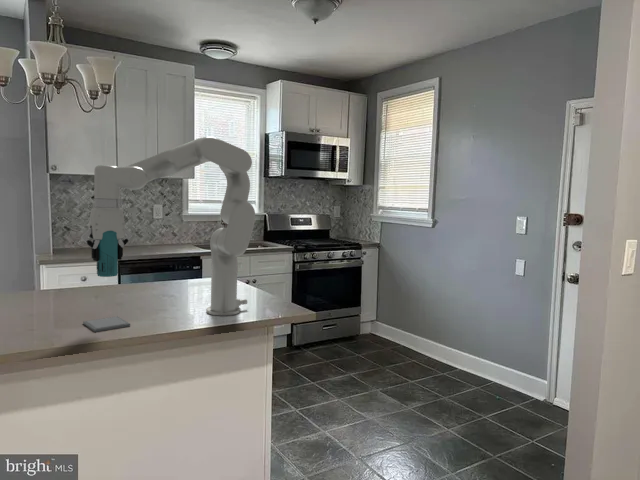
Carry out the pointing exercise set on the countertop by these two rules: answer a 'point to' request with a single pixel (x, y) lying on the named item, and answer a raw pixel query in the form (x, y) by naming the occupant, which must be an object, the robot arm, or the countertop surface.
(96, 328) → the plate
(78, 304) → the countertop surface
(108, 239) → the beverage bottle
